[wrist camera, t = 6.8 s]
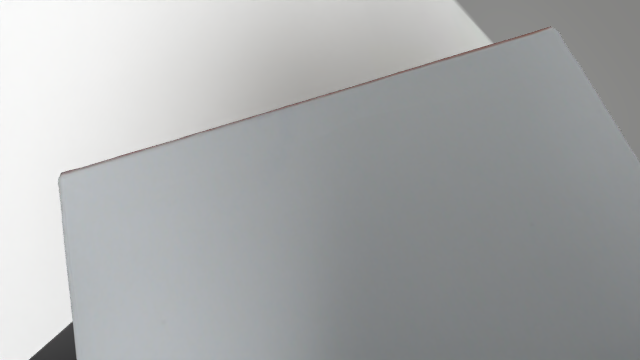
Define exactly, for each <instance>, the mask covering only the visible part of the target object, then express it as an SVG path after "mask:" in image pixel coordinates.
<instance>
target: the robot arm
mask: <svg viewBox="0 0 640 360" xmlns="http://www.w3.org/2000/svg"><path fill="white" fill-rule="evenodd" d="M29 360H77V358H76V348H75V338H74V328H73V322H72V323H70V324H69V325H68V326H67V327H66V328H65V329H64V330H62V331H61V332H60V333H59V334H58V335H57V336H56V337H54V338H53V339H52V340H51V341H50V342H49V343H48V344H46V345H45V346H44V347H43V348H42V349H41V350H40V351H38V352H37V353H36V354H35V355H34V356H33V357H32V358H30V359H29Z"/></svg>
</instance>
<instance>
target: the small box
mask: <svg viewBox="0 0 640 360" xmlns="http://www.w3.org/2000/svg"><path fill="white" fill-rule="evenodd" d="M58 186H59V193H60V201H61V211H62V223H63V234H64V244H65V254H66V264H67V273H68V281H69V290H70V299H71V308H72V318H73V328H74V338H75V348H76V358H77V360H640V161H639V160H638V158H637V156H636V155H635V153H634V152H633V150H632V148H631V147H630V145H629V143H628V142H627V140H626V139H625V137H624V135H623V134H622V132H621V130H620V129H619V127H618V126H617V124H616V122H615V121H614V119H613V117H612V116H611V114H610V113H609V111H608V109H607V108H606V106H605V104H604V103H603V101H602V99H601V98H600V96H599V95H598V93H597V91H596V90H595V88H594V87H593V85H592V84H591V82H590V81H589V79H588V78H587V76H586V74H585V72H584V71H583V69H582V68H581V66H580V64H579V63H578V61H577V60H576V59H575V57H574V56H573V54H572V53H571V52H570V50H569V49H568V47H567V46H566V44H565V42H564V40H563V38H562V36H561V35H560V33H559V32H558V31H557V30H556V29H554V28H552V27H547V28H544V29H541V30H538V31H535V32H532V33H528V34H525V35H522V36H518V37H515V38H512V39H508V40H505V41H502V42H498V43H495V44H491V45H488V46H484V47H481V48H478V49H474V50H471V51H468V52H464V53H461V54H458V55H454V56H451V57H448V58H444V59H441V60H438V61H435V62H431V63H428V64H425V65H422V66H419V67H415V68H412V69H408V70H405V71H402V72H398V73H395V74H392V75H389V76H385V77H382V78H379V79H376V80H372V81H369V82H366V83H363V84H360V85H356V86H353V87H350V88H346V89H343V90H339V91H336V92H333V93H329V94H326V95H323V96H319V97H316V98H312V99H309V100H306V101H302V102H299V103H295V104H292V105H289V106H285V107H282V108H279V109H276V110H273V111H269V112H266V113H263V114H259V115H256V116H253V117H249V118H246V119H243V120H239V121H236V122H233V123H229V124H226V125H223V126H219V127H216V128H213V129H209V130H206V131H203V132H199V133H196V134H192V135H189V136H186V137H183V138H180V139H177V140H173V141H170V142H166V143H163V144H159V145H156V146H152V147H149V148H145V149H142V150H138V151H135V152H131V153H128V154H125V155H122V156H118V157H115V158H112V159H108V160H105V161H102V162H99V163H95V164H92V165H89V166H86V167H82V168H78V169H74V170H69V171H66V172H62V173H61V175H60V177H59V179H58Z"/></svg>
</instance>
